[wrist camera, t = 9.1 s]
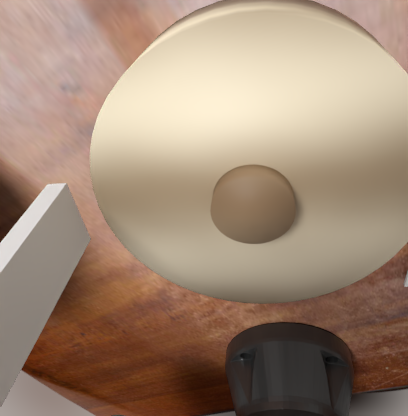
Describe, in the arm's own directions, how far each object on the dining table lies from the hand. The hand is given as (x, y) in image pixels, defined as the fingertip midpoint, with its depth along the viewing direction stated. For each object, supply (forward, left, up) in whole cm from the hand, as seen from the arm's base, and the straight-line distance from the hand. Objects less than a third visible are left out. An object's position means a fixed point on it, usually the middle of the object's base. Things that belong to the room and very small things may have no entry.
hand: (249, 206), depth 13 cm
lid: (0, 0, -3) cm, 3 cm away
